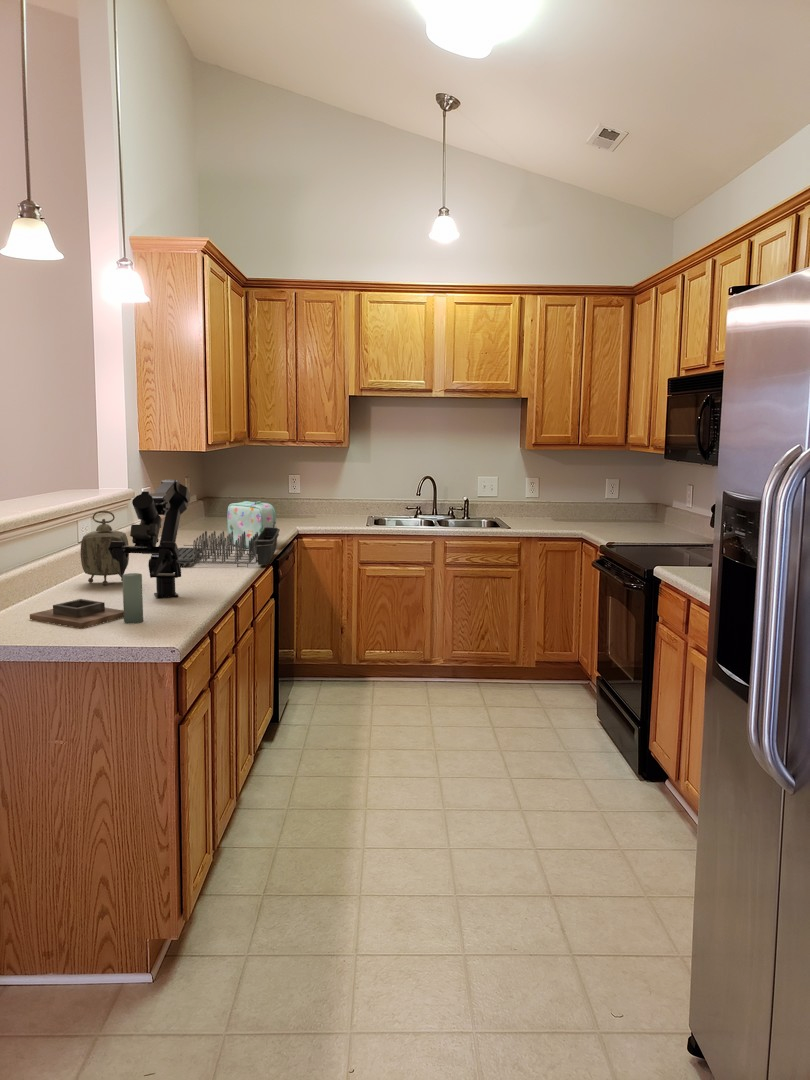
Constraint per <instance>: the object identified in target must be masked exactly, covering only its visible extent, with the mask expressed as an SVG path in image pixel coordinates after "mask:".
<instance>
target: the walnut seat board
mask: <svg viewBox="0 0 810 1080" xmlns="http://www.w3.org/2000/svg"><path fill="white" fill-rule="evenodd" d="M105 606H106V605H105V601H104V602H103V601H98V600H90V599H85V598H84V599H83V598H79V599H78V598H77V599H75V600H69V601H65V602H61V603H56V604H53V605H52V608H51V609H46V610H43V611H39V612H38V611H37V612H33V613H29V620H30V619H32V620H31V621H35V620H38V621H37V622H41V621H42V623H46V622H49V623H48V624H52V623H55V624H54V625H58V624H61V625H60V626H63V625H67V626H66V627H69V626H73V627H72V628H75V627H79V628H78V629H80V628H82V629H85V628H84V627H86V628H89V627H88V626H90V627H93V626H92V625H94V626H96V624H97V625H100V623H101V624H104V623H103V622H105V623H108V622H112V621H115V619H116V620H118V618H119V619H123V618H124V609H118V608H117V609H116V608H110V607H105ZM122 617H123V618H122ZM111 620H112V621H111ZM107 621H108V622H107Z"/></svg>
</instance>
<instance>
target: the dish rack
mask: <svg viewBox="0 0 810 1080" xmlns="http://www.w3.org/2000/svg"><path fill="white" fill-rule="evenodd" d="M279 532H280V528H278V527H277V528H270V527H264V529H263V530H262V532H261V533H260V535H259V536H258V532H256V534H255V538H254V536H253V539H252V538H251V541H250V540H249V548H248V549H247V548H246V537H245V531H244V536H243V533H242V538H241V536H240V544H239V546H238V543H239V538H238V539H237V540H236V541H235V545H234V541H233V531H231V533H229V537H228V534H227V535H226V537H225V531H224V530H222V532H220V533H219V534H218V535H217V536H216V534H217V533H216V530H213V532H211V533H210V534H208V531H207V530H205V531H204V532H202V533H201V534H199V536H198V537H196V538H195V539H194V540H193V544H183V546H185V547H178V550H179V558H178V562H179V564H182V566H184V564H189V565H191V564H215V565H216V564H217V565H219V564H220V565H222V564H225V565H226V564H233V565H234V564H235V565H236V564H237V565H236V566H237V568H238V567H245V566H239V565H241V564H244V565H245V564H246V567H247V568H248V567H249V565H250V564H252V565H253V564H257V565H259V566H267V565H268V564H269V563H270V562H271V560H272V559H273V557H274V555H275V553H276V550H277V544H278V537H279V535H280V534H279ZM232 541H233V545H232ZM234 547H235V548H234ZM233 551H234V553H233ZM219 557H220V558H219ZM230 557H231V558H232V557H235V558H234V560H235V561H234V560H233V561H230V560H229V558H230ZM254 558H255V562H253V560H254ZM201 559H202V560H201ZM220 560H221V561H220ZM227 560H229V561H227ZM239 560H241V561H239ZM242 560H243V561H242ZM247 560H248V561H247Z"/></svg>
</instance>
